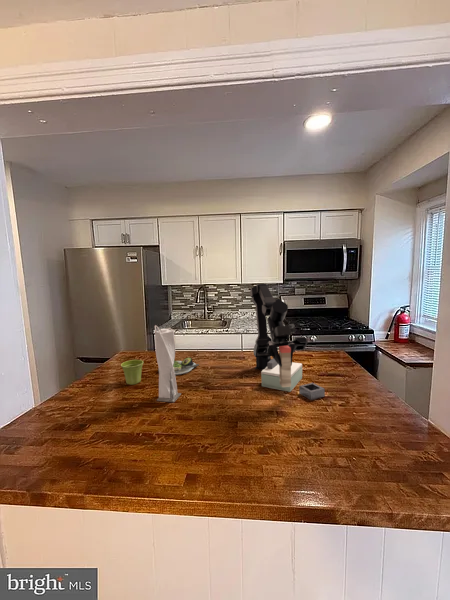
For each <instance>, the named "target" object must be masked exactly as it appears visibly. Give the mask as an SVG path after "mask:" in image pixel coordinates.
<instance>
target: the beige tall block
mask: <svg viewBox="0 0 450 600" xmlns="http://www.w3.org/2000/svg"><path fill="white" fill-rule="evenodd" d="M278 353H279V356H280V359H281V363H282V367H280V366H279V375H280V385H281V386H282V387H291V348H290V347H289V346H279V347H278Z"/></svg>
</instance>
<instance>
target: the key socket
mask: <svg viewBox="0 0 450 600" xmlns="http://www.w3.org/2000/svg"><path fill="white" fill-rule="evenodd" d="M298 387H299V390H298V392H299V394H300V395H301V396H303V397H305V398H307V399H308V400H310V401H314V400H317V399H320V398H324V397H325V396H326V395H325V394H326V392H325V389H326V388H324V387H322V386H320V385H319V384H317V383H314V382H310V383H306V384H302V385H299V386H298Z"/></svg>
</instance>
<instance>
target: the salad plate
mask: <svg viewBox="0 0 450 600" xmlns="http://www.w3.org/2000/svg"><path fill="white" fill-rule="evenodd" d="M199 365H200V363H195V362H194V361H193V359H192V358H191V357H186V358H184V359H183V360H175V359H174V365H173V368H174V372H175V376H180V375H181V376H182V375H186V374H188V373H189V372H191V371H193V370H194V369H196V368H197V367H198V366H199ZM192 369H193V370H192ZM157 371H158V372H159V368H157Z"/></svg>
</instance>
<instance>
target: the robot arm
mask: <svg viewBox="0 0 450 600" xmlns="http://www.w3.org/2000/svg"><path fill="white" fill-rule="evenodd" d="M249 295H250V298H251V302H252V303H253V305H254V306H255V313H256V324H257V325H256V327H257V337H256V339H255V344H254V347H253V356H254V357H255V362H256V363H255V365H256V366H255V367H254V369H255V370H260V371H262V370H264V369H265V368H266V367H267V363H268V362H269V361H270V360H272V359H273V358H274V359H275V361H276V362H277V363H278V364H279V366H280V367H282V363H281V359H280V356H279V346H289V347H290V348H291V366H292V362H293V355H294V353H295V351H304V350H305V349H306V348H307V345H308V343H309V341H308V339H307V337H306V336H295V338H294V340H290V336H291V335H292V334H295V333H296V326H295V323H289V324H287V325H284V324H285V323H284V320H285V318H286V315H287V313H288V309H289V306H288V304H287V303H286V302H285V301H283V300H282V299H281V298H275V297H274V296H273V294H272V292H271V290H270V288H269V284H268V283H257V284H256V285H255V286H253V287H251V288H250V292H249ZM267 325H268V326H267ZM268 330H269V333H270V334H269V335H270V336H269V335H268ZM271 357H272V358H271Z"/></svg>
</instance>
